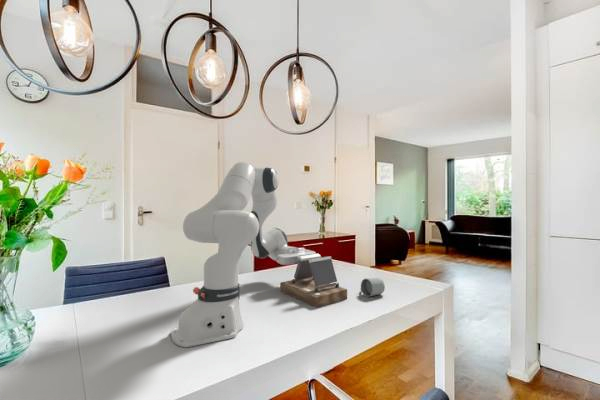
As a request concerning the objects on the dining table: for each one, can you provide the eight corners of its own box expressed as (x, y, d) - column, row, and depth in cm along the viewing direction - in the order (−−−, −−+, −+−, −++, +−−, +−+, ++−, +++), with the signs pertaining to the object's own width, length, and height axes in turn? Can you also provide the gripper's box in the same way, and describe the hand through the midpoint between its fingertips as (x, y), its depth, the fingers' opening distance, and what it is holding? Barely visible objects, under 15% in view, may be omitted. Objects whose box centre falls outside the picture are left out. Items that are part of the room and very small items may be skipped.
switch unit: (316, 307, 118) (316, 292, 118) (280, 291, 139) (280, 278, 139) (347, 298, 128) (347, 284, 128) (309, 284, 149) (309, 272, 149)
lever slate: (318, 285, 124) (311, 259, 127) (315, 286, 126) (308, 260, 129) (337, 281, 131) (330, 256, 134) (334, 282, 132) (327, 257, 136)
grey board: (296, 279, 136) (302, 258, 133) (293, 277, 138) (299, 256, 134) (314, 276, 143) (321, 256, 139) (312, 273, 145) (318, 253, 141)
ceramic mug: (386, 295, 132) (386, 278, 132) (372, 298, 128) (372, 280, 128) (369, 289, 141) (369, 273, 141) (355, 292, 137) (355, 275, 137)
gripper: (271, 251, 143) (288, 256, 132) (305, 247, 156) (323, 250, 145) (271, 264, 143) (288, 270, 132) (305, 259, 156) (323, 263, 145)
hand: (307, 260), depth 139 cm, fingers closed, pressing on grey board
